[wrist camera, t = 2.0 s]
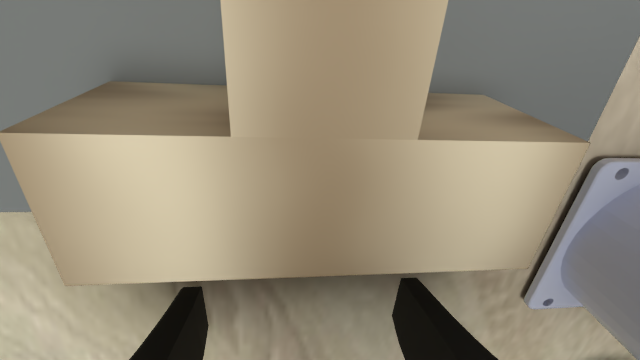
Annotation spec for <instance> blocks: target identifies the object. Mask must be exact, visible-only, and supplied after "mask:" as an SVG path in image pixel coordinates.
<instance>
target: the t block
mask: <svg viewBox="0 0 640 360" xmlns="http://www.w3.org/2000/svg"><path fill="white" fill-rule="evenodd" d="M220 1H221V14H222V27H223V40H224V53H225V66H226V79H227V85H199V84H172V83H144V82H117V81H109V82H107V83H105V84H103V85H100V86H98V87H96V88H94V89H92V90H89V91H87V92H85V93H83V94H81V95H78V96H76V97H74V98H72V99H70V100H67V101H65V102H63V103H61V104H59V105H56V106H54V107H52V108H50V109H48V110H45V111H43V112H41V113H39V114H37V115H35V116H32V117H30V118H28V119H26V120H24V121H21V122H19V123H17V124H15V125H13V126H10V127H8V128H6V129H4V130H2V131H0V142H1V144H2V146H3V148H4V151H5V153H6V155H7V157H8V160H9V162H10V164H11V166H12V169H13V171H14V173H15V175H16V177H17V180H18V182H19V184H20V186H21V189H22V191H23V193H24V195H25V198H26V200H27V202H28V204H29V207H30V209H31V211H32V213H33V216H34V218H35V220H36V222H37V225H38V227H39V229H40V231H41V233H42V236H43V238H44V240H45V242H46V245H47V247H48V249H49V251H50V254H51V256H52V258H53V260H54V263H55V265H56V267H57V269H58V272H59V274H60V276H61V278H62V280H63V283H64V285H65V286H76V285H103V284H130V283H157V282H184V281H211V280H237V279H264V278H291V277H318V276H345V275H372V274H399V273H426V272H453V271H480V270H507V269H528V268H529V266H530V264H531V261H532V259H533V257H534V255H535V253H536V251H537V249H538V247H539V245H540V243H541V241H542V239H543V237H544V235H545V233H546V231H547V229H548V227H549V225H550V223H551V221H552V219H553V217H554V215H555V213H556V211H557V209H558V207H559V205H560V203H561V201H562V199H563V197H564V195H565V193H566V191H567V189H568V187H569V185H570V183H571V181H572V179H573V177H574V175H575V173H576V171H577V169H578V167H579V165H580V163H581V161H582V159H583V157H584V155H585V153H586V151H587V149H588V147H589V145H590V142H588V141H585V140H583V139H581V138H579V137H576V136H574V135H572V134H570V133H567V132H565V131H563V130H561V129H559V128H556V127H554V126H552V125H550V124H547V123H545V122H543V121H541V120H539V119H536V118H534V117H532V116H530V115H527V114H525V113H523V112H521V111H518V110H516V109H514V108H512V107H510V106H507V105H505V104H503V103H501V102H498V101H496V100H494V99H492V98H490V97H487V96H485V95H475V94H447V93H428V91H429V86H430V82H431V77H432V73H433V68H434V64H435V59H436V55H437V50H438V46H439V41H440V36H441V32H442V27H443V23H444V18H445V14H446V9H447V5H448V0H220Z"/></svg>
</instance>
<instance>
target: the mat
mask: <svg viewBox="0 0 640 360" xmlns="http://www.w3.org/2000/svg"><path fill="white" fill-rule="evenodd" d="M639 36H640V0H448V5H447V9H446V14H445V18H444V23H443V27H442V32H441V36H440V41H439V46H438V50H437V55H436V59H435V64H434V68H433V73H432V77H431V82H430V86H429V91H428V93H447V94H475V95H485V96H487V97H490V98H492V99H494V100H496V101H498V102H501V103H503V104H505V105H507V106H510V107H512V108H514V109H516V110H518V111H521V112H523V113H525V114H527V115H530V116H532V117H534V118H536V119H539V120H541V121H543V122H545V123H547V124H550V125H552V126H554V127H556V128H559V129H561V130H563V131H565V132H567V133H570V134H572V135H574V136H576V137H579V138H581V139H583V140H585V141H588V140H589V138H590V136H591V134H592V132H593V130H594V128H595V126H596V124H597V122H598V120H599V118H600V116H601V114H602V112H603V110H604V108H605V106H606V104H607V102H608V100H609V97H610V95H611V93H612V91H613V89H614V87H615V85H616V83H617V81H618V79H619V77H620V75H621V73H622V71H623V69H624V67H625V65H626V63H627V61H628V59H629V57H630V55H631V53H632V51H633V48H634V46H635V44H636V42H637V40H638V38H639ZM109 81H117V82H144V83H172V84H199V85H227V79H226V66H225V53H224V40H223V27H222V14H221V1H220V0H0V131H2V130H4V129H6V128H8V127H10V126H13V125H15V124H17V123H19V122H21V121H24V120H26V119H28V118H30V117H32V116H35V115H37V114H39V113H41V112H43V111H45V110H48V109H50V108H52V107H54V106H56V105H59V104H61V103H63V102H65V101H67V100H70V99H72V98H74V97H76V96H78V95H81V94H83V93H85V92H87V91H89V90H92V89H94V88H96V87H98V86H100V85H103V84H105V83H107V82H109ZM0 212H32V211H31V209H30V207H29V204H28V202H27V200H26V198H25V195H24V193H23V191H22V189H21V186H20V184H19V182H18V180H17V177H16V175H15V173H14V171H13V169H12V166H11V164H10V162H9V160H8V157H7V155H6V153H5V151H4V148H3V146H2V144H1V142H0Z"/></svg>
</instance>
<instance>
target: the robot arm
mask: <svg viewBox="0 0 640 360" xmlns="http://www.w3.org/2000/svg"><path fill="white" fill-rule="evenodd" d="M524 302H525V303H526V305H527V306H528V307H529V308H531V309H548V308H567V307H585V308H586V309H587V310H588V311H589V312H590V313H591V314H592V315H593V316H594V317H595V318H596V319H597V320H598V321H599V322H600V323H601V324H602V325H603V326H604V327H605V328H606V329H607V330H608V331H609V332H610V333H611V334H612V335H613V336H614V337H615V338H616V339H617V340H618V341H619V342H620V343H621V344H622V345H623V346H624V347H625V348H626V349H627V350H628V351H629V352H630V353H631V354H632V355H633V356H634V357H635V358H636V359H637V360H640V158H606V159H602V160H600V161H598V162H597V163H596V164H594V165H593V167H592V168H591V170H590V172H589V174H588V175H587V177H586V179H585V181H584V183H583V185H582V187H581V189H580V191H579V193H578V195H577V197H576V199H575V201H574V203H573V204H572V206H571V208H570V210H569V212H568V214H567V216H566V218H565V220H564V222H563V224H562V226H561V228H560V230H559V232H558V233H557V235H556V237H555V239H554V241H553V243H552V245H551V247H550V249H549V251H548V253H547V255H546V257H545V259H544V261H543V262H542V264H541V266H540V268H539V270H538V272H537V274H536V276H535V278H534V280H533V282H532V284H531V286H530V288H529V290H528V291H527V293H526V295H525V298H524ZM392 317H393V321H394V325H395V330H396V333H397V337H398V341H399V344H400V347H401V350H402V353H403V355H404V358H405V360H498V359H497V358H496V357H495V356H494V355H492V354H491V353H490V352H489V351H488V350H487V349H486V348H485V347H484V346H483V345H481V344H480V343H479V342H478V341H477V340H476V339H475V338H474V337H473V336H472V335H471V334H470V333H469V332H468V331H467V330H466V329H465V328H464V327H463V326H462V325H461V324H460V323H459V322H458V321H457V320H456V319H455V318H454V317H453V316H452V315H451V314H450V313H449V312H448V311H447V310H446V309H445V308H444V307H443V305H442V304H441V303H440V302H439V301H438V300H437V299H436V298H435V297H434V296H433V295H432V294H431V293H430V291H429V290H428V289H427V288H426V287H425V286H424V285H423V284H422V283H421V282H420V281H419V280H418V279H417V278H401V281H400V285H399V289H398V293H397V297H396V301H395V305H394V309H393V314H392ZM207 331H208V321H207V315H206V309H205V303H204V297H203V291H202V287H183V288H182V289H181V290H180V292H179V293H178V295H177V296H176V298H175V299H174V301H173V302H172V304H171V305H170V306H169V308H168V309H167V311H166V312H165V314H164V315H163V316H162V318H161V319H160V321H159V322H158V323H157V325H156V326H155V327H154V329H153V330H152V331H151V333H150V334H149V335H148V337H147V338H146V339H145V341H144V342H143V343H142V345H141V346H140V347H139V348H138V350H137V351H136V352H135V353H134V355H133V356H132V357H131V358H130V359H129V360H203V356H204V350H205V344H206V338H207Z"/></svg>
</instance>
